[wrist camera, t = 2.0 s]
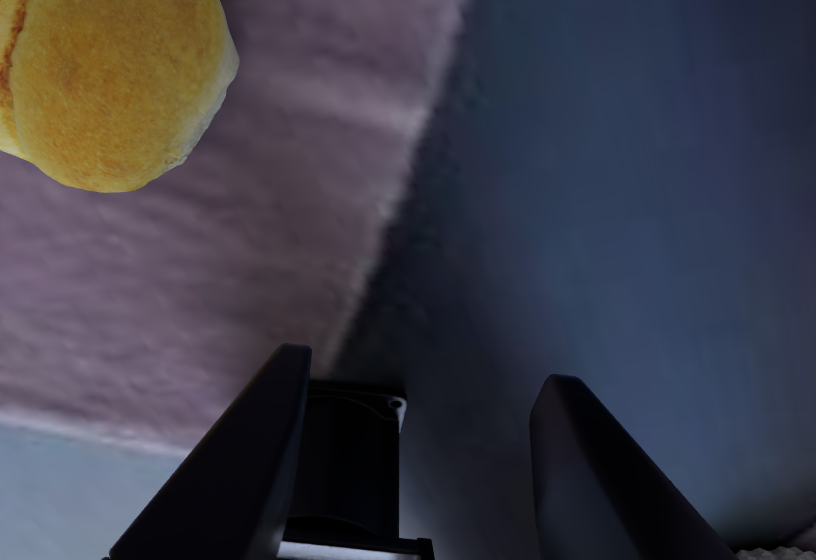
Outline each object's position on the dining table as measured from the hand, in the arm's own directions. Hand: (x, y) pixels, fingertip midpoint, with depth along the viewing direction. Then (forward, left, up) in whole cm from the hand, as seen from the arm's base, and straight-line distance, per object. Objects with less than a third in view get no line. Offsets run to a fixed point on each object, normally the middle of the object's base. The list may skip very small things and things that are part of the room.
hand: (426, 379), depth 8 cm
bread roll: (+10, 0, -12) cm, 15 cm away
